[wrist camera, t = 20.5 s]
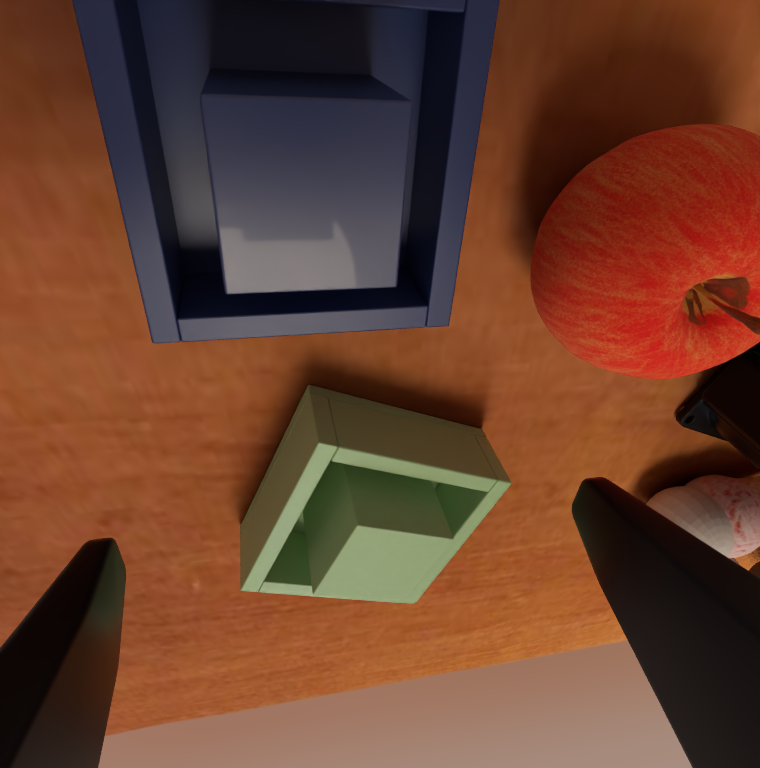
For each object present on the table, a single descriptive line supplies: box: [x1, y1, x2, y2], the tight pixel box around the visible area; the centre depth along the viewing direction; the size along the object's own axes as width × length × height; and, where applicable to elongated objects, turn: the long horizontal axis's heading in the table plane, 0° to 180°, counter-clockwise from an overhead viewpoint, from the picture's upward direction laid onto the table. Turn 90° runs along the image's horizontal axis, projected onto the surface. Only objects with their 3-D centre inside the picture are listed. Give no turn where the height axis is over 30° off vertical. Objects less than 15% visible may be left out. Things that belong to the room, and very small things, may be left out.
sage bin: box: [240, 385, 511, 604], centre depth 24 cm, size 9×9×4 cm
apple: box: [531, 124, 760, 379], centre depth 17 cm, size 8×8×8 cm
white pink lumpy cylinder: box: [646, 475, 760, 558], centre depth 31 cm, size 5×5×15 cm
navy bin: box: [72, 0, 499, 343], centre depth 15 cm, size 9×9×4 cm
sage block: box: [303, 461, 454, 602], centre depth 23 cm, size 4×4×4 cm
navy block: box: [200, 68, 413, 294], centre depth 14 cm, size 4×4×4 cm
